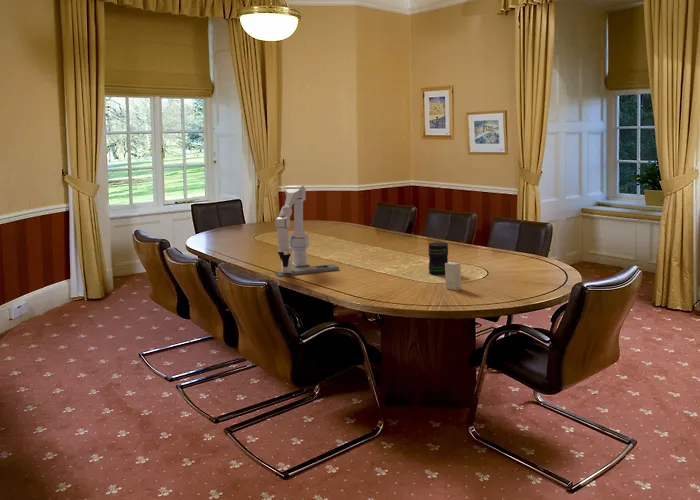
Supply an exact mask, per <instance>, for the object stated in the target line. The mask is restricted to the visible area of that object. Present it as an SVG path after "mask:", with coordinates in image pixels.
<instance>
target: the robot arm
mask: <svg viewBox="0 0 700 500" xmlns="http://www.w3.org/2000/svg"><path fill="white" fill-rule="evenodd" d="M284 192H285V193H284V194H285V197H286V198H285V203H284V205H283V206H282V207H281V209H280V211H279V214H278V217H277V218H275V220H274V226H275V231H276V232H277V246H278V247H277V248H278V249H277V251H278V252H277V254H278V255H279V258H280V260H281V259H282V263H283V267H288V262H289V258H291V253H289V251H291V250H292V262H291V265H292V266H293V267H295V268H298V267H307V266H309V265H310V263H308V260H307V259H308V258H307V256H308V255H307V249H308V248H309V246H310V239H309V234H307V232H305V231H304V201H306V197H307V195H306V194H307V193H306V188H305V186H304V185H286V186H285V189H284ZM292 207H293V209H292ZM292 212H293V213H292ZM292 214H293V222H294V223H293V224H294V225H293V227H294V228H293V229H294V231H293V232H292V233H291V234H290V235H289V228H290V223H291V219H290V218H291V216H292Z"/></svg>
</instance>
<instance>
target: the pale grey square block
mask: <svg viewBox="0 0 700 500" xmlns="http://www.w3.org/2000/svg"><path fill="white" fill-rule="evenodd" d="M280 262H281V263H280V265H281V266H280V267H281V272H282V273H292V264H291V263H292V259H291V257H289V262H288V267H283V263H282V259H280Z"/></svg>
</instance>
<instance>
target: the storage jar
mask: <svg viewBox="0 0 700 500" xmlns="http://www.w3.org/2000/svg"><path fill="white" fill-rule="evenodd" d="M427 249H428V254H427V255H428V260H429V262H428V271H429V272H428V274H429V275H431V276H445V263H448V260H449V259H448V256H449V243H448V242H442V241H441V242H438V241H437V242H430V243H428V248H427Z"/></svg>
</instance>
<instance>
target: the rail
mask: <svg viewBox="0 0 700 500" xmlns="http://www.w3.org/2000/svg"><path fill="white" fill-rule="evenodd" d="M291 268H292V267H291ZM339 270H340V266H338V265H337V264H335V263H331V264H322V265H314V266H313V265H312V266H300V267H295V268H292V272H293V273H294V274H296V275H295V276H299V275H307V273H308V274H317V273H323V272H324V273H325V272H326V273H327V272H333V271H339ZM298 274H299V275H298Z"/></svg>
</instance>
